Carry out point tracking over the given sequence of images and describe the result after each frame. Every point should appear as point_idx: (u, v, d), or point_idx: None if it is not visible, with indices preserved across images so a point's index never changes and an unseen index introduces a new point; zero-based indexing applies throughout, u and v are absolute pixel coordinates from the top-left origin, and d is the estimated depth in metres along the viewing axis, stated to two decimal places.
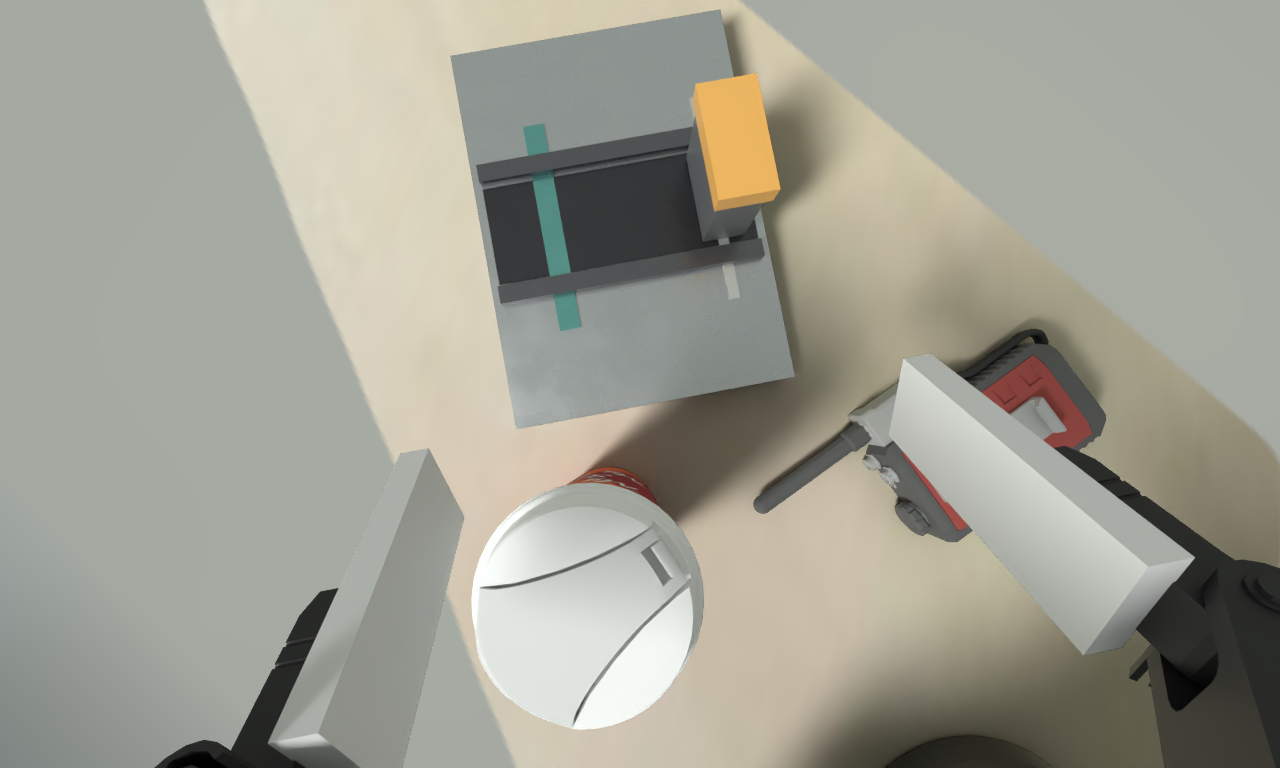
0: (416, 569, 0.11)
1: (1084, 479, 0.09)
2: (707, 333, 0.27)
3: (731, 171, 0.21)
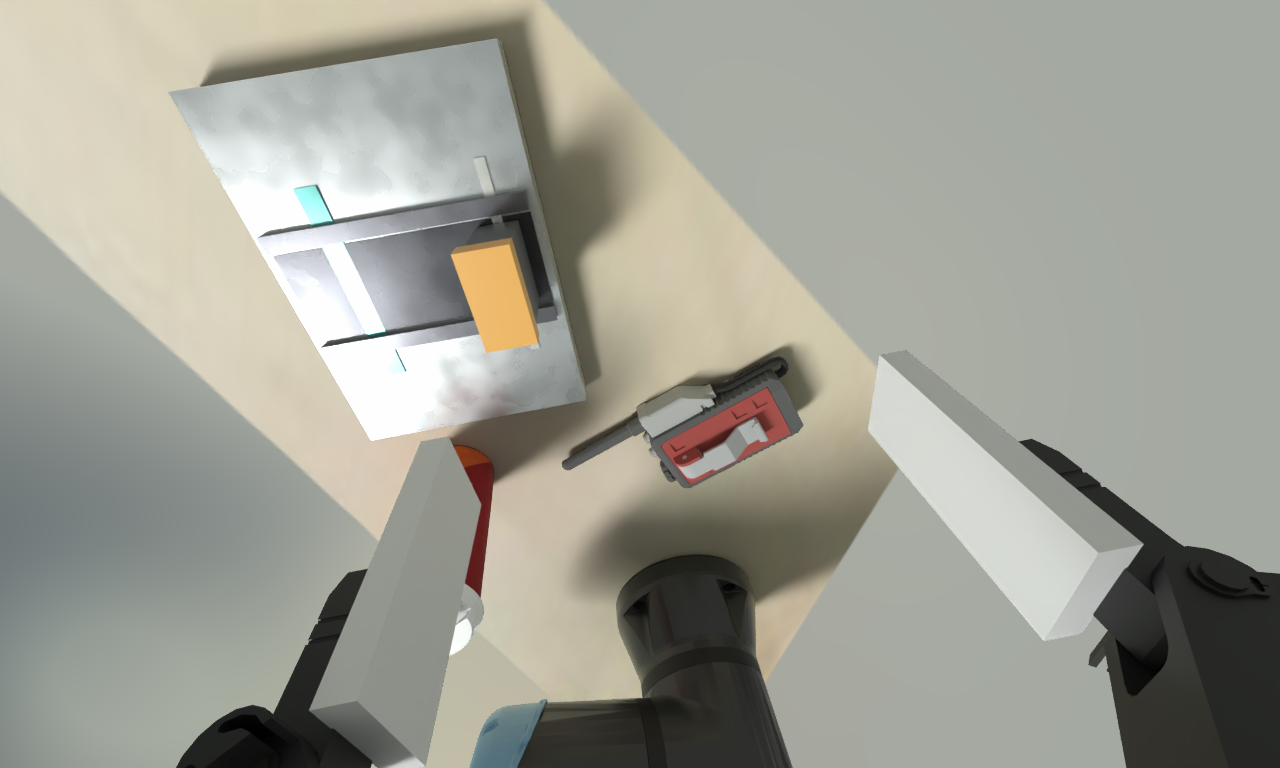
0: (440, 552, 0.11)
1: (1045, 470, 0.09)
2: (514, 373, 0.33)
3: (494, 331, 0.25)
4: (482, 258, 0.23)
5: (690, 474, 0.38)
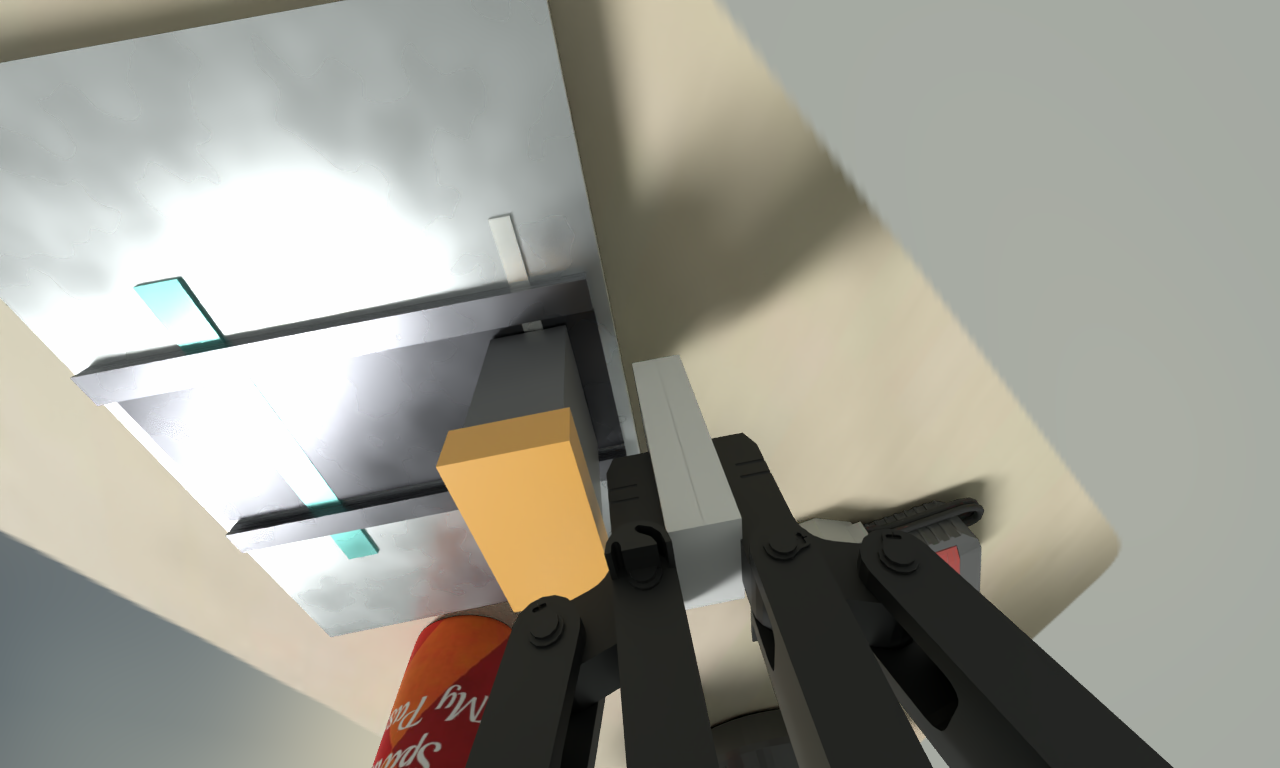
0: None
1: (717, 459, 0.11)
2: None
3: (531, 582, 0.12)
4: (508, 469, 0.10)
5: None
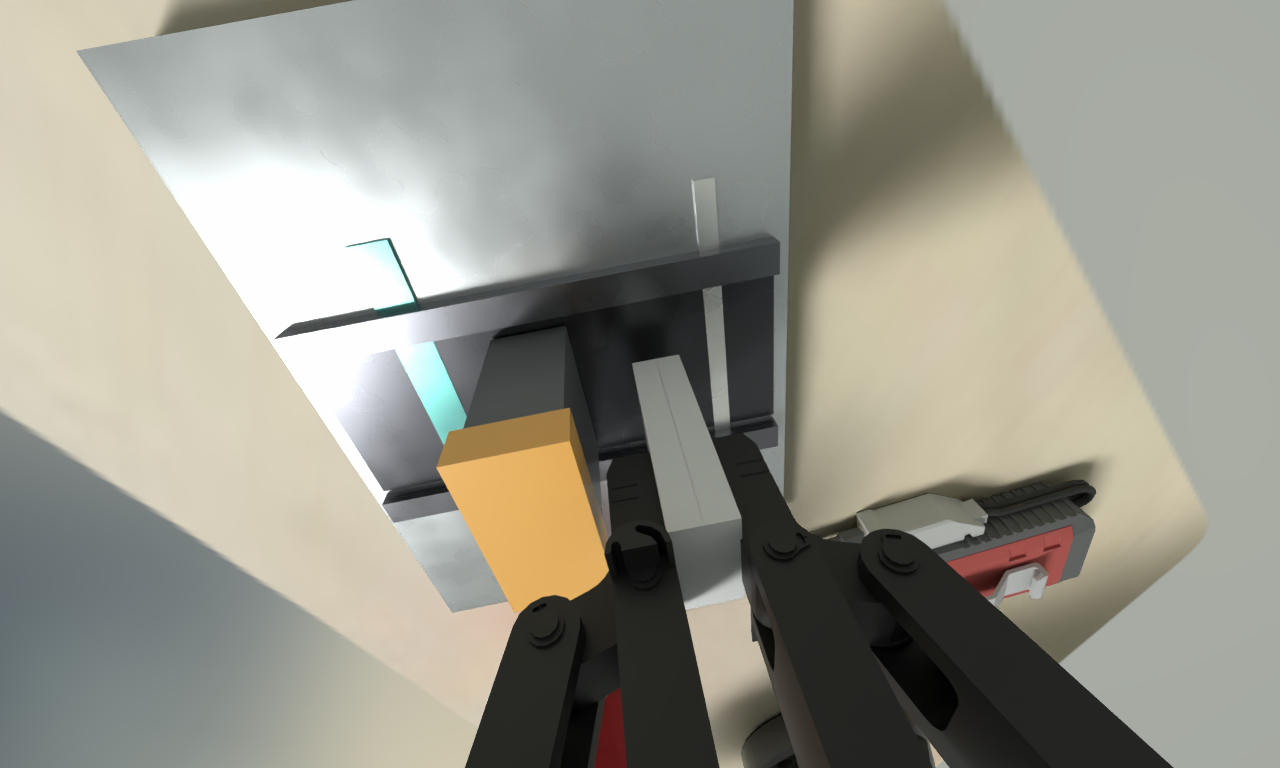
0: None
1: (717, 459, 0.11)
2: None
3: (531, 582, 0.12)
4: (508, 469, 0.10)
5: None
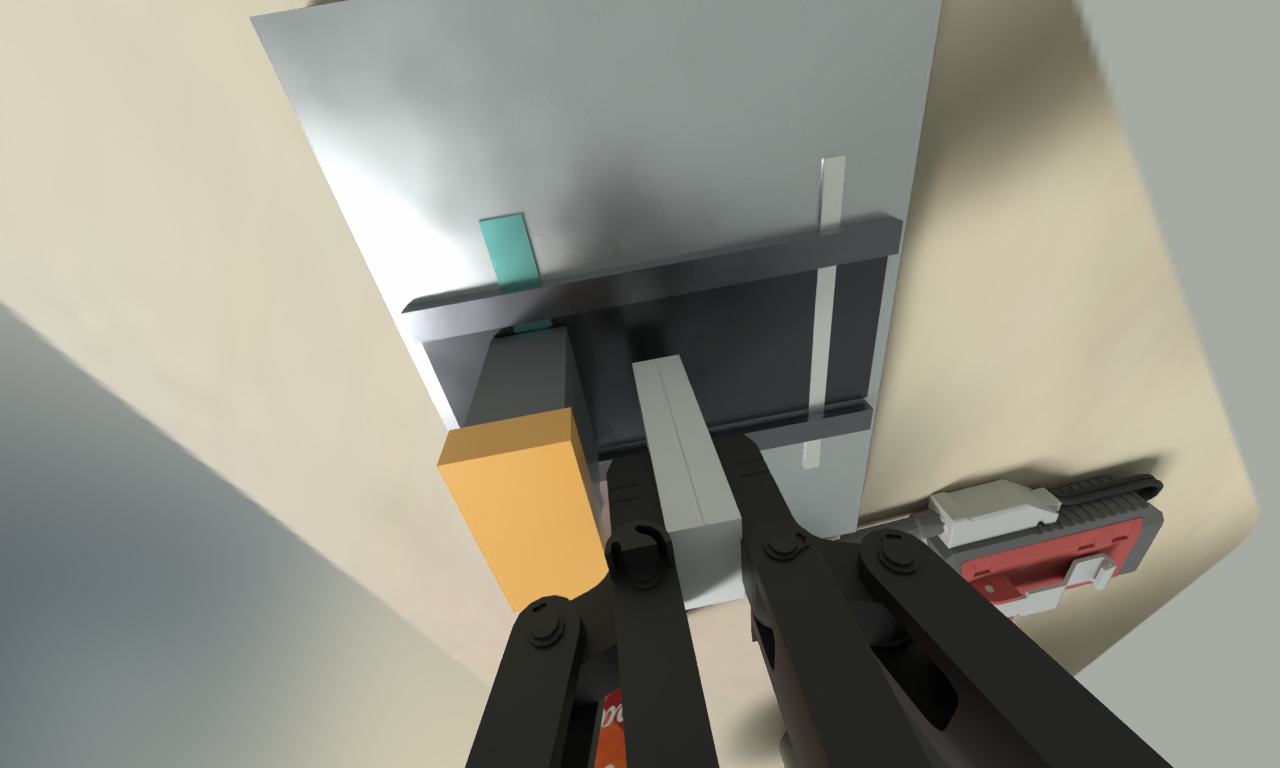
0: None
1: (717, 458, 0.11)
2: None
3: (530, 581, 0.12)
4: (509, 468, 0.10)
5: None
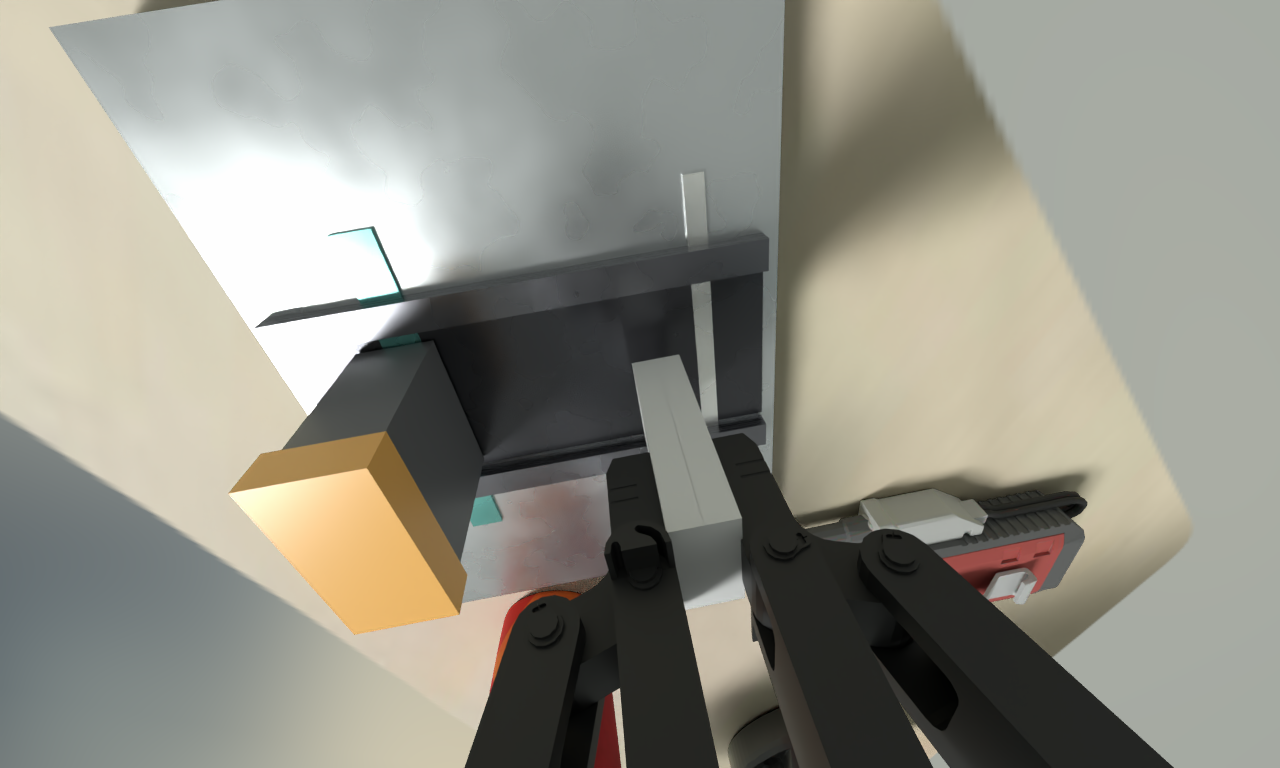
0: None
1: (717, 458, 0.11)
2: None
3: (363, 605, 0.12)
4: (308, 495, 0.10)
5: None
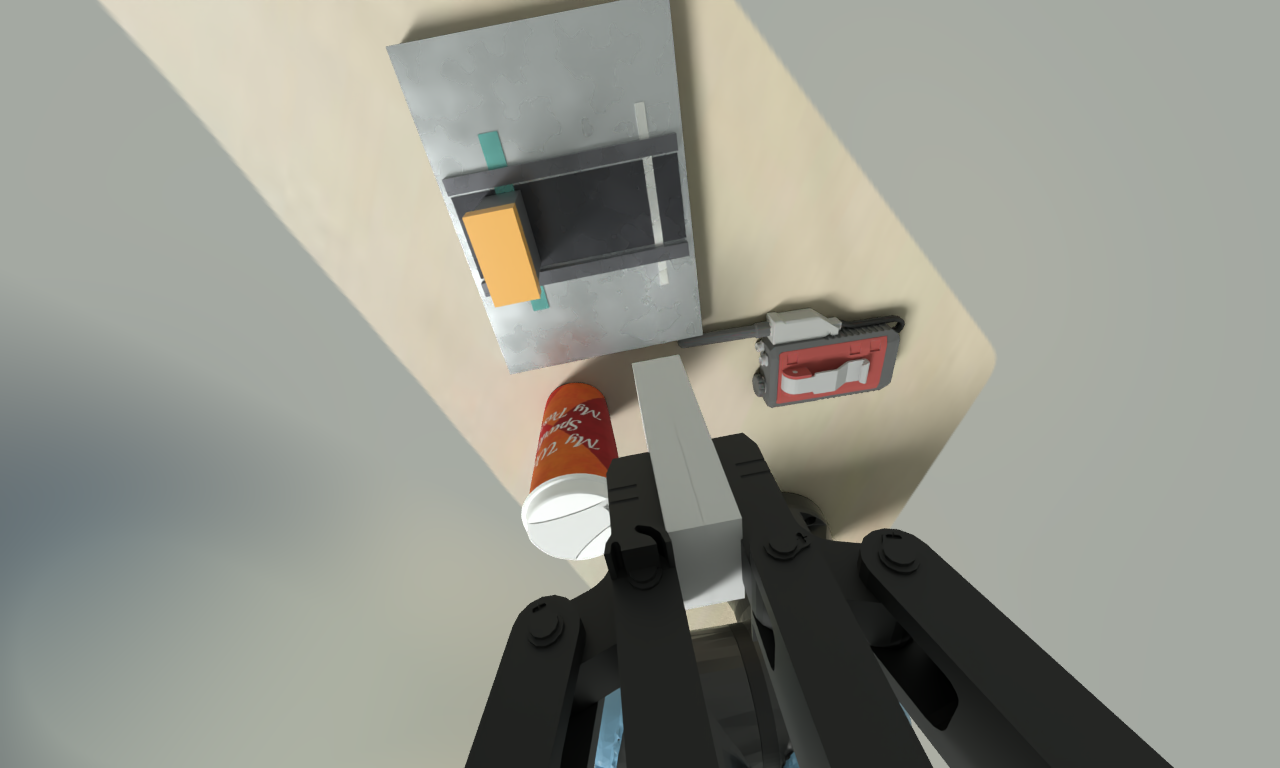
0: None
1: (717, 459, 0.11)
2: (643, 308, 0.37)
3: (501, 287, 0.28)
4: (489, 220, 0.26)
5: (793, 389, 0.41)
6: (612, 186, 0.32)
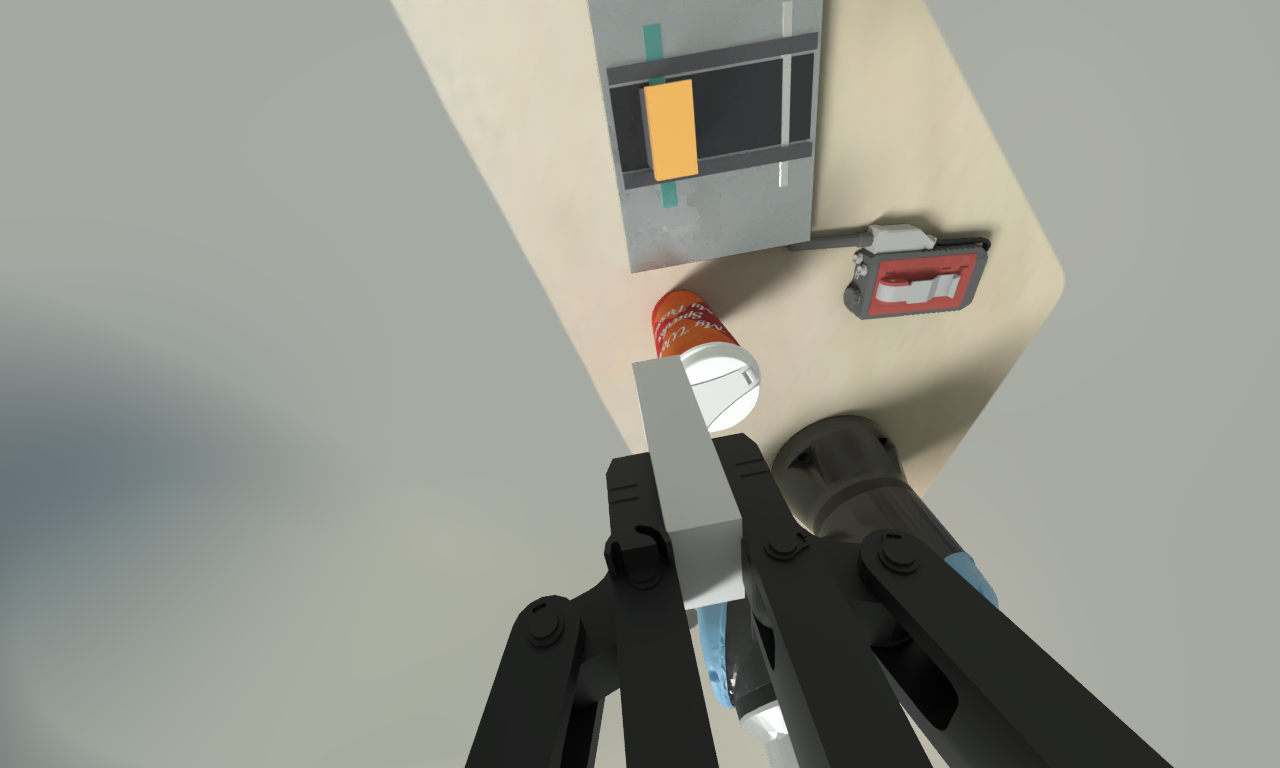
0: None
1: (717, 458, 0.11)
2: (760, 210, 0.40)
3: (667, 160, 0.31)
4: (669, 91, 0.29)
5: (889, 297, 0.44)
6: (752, 83, 0.35)
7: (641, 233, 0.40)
